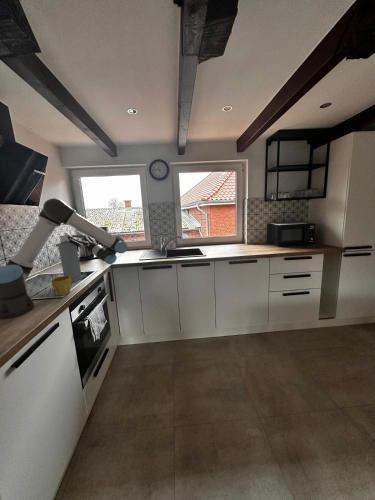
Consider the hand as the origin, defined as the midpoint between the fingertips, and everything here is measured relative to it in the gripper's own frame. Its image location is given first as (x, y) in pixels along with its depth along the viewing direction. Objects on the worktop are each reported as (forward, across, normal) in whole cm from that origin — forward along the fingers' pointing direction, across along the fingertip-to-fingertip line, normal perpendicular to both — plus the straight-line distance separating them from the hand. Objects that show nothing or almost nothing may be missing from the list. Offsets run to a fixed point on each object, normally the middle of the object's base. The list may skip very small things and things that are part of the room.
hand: (71, 233), depth 141 cm
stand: (-13, 0, -33) cm, 35 cm away
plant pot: (-27, -22, -25) cm, 43 cm away
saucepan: (-3, +1, -6) cm, 7 cm away
